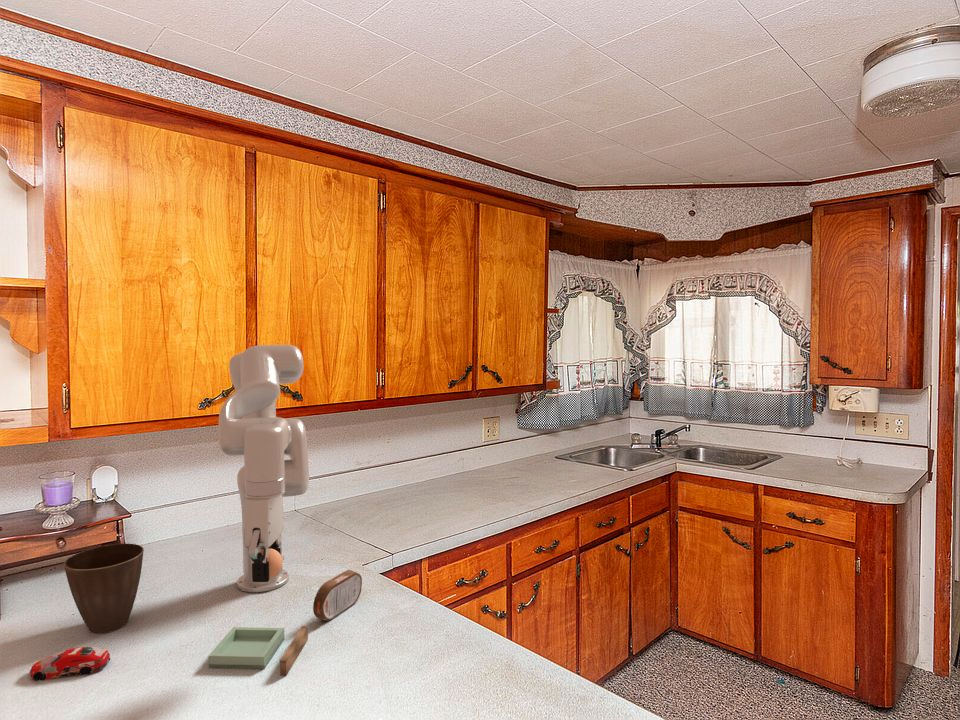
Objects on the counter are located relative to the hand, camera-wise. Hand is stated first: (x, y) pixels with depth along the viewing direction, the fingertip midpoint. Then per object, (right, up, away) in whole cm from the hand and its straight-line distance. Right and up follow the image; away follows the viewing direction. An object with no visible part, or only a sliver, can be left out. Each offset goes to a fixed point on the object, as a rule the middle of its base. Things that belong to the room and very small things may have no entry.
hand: (267, 573), depth 121 cm
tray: (-4, -17, +2) cm, 18 cm away
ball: (0, -1, 0) cm, 1 cm away
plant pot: (-40, -16, +13) cm, 45 cm away
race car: (-37, -18, -4) cm, 41 cm away
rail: (+6, -17, 0) cm, 18 cm away
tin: (+10, -16, +19) cm, 27 cm away
